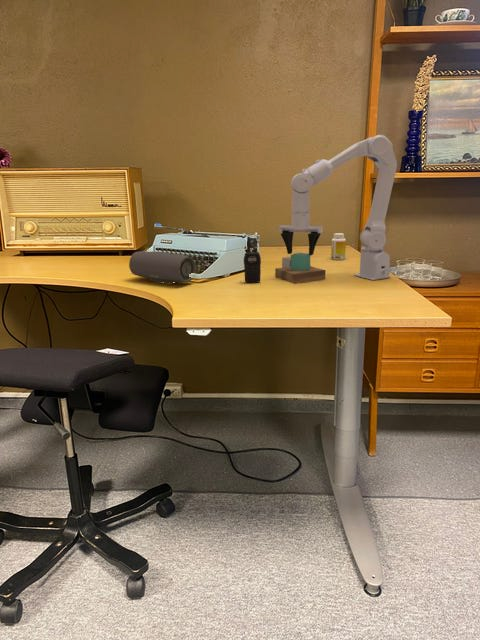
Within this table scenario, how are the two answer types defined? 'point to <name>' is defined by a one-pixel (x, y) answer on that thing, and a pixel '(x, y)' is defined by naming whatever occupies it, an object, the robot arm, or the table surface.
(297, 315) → the table surface
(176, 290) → the table surface
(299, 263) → the teal cube
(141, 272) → the bluetooth speaker
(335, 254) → the supplement bottle
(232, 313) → the table surface
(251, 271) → the two-way radio
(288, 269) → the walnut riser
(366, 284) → the table surface
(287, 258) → the steel cube
